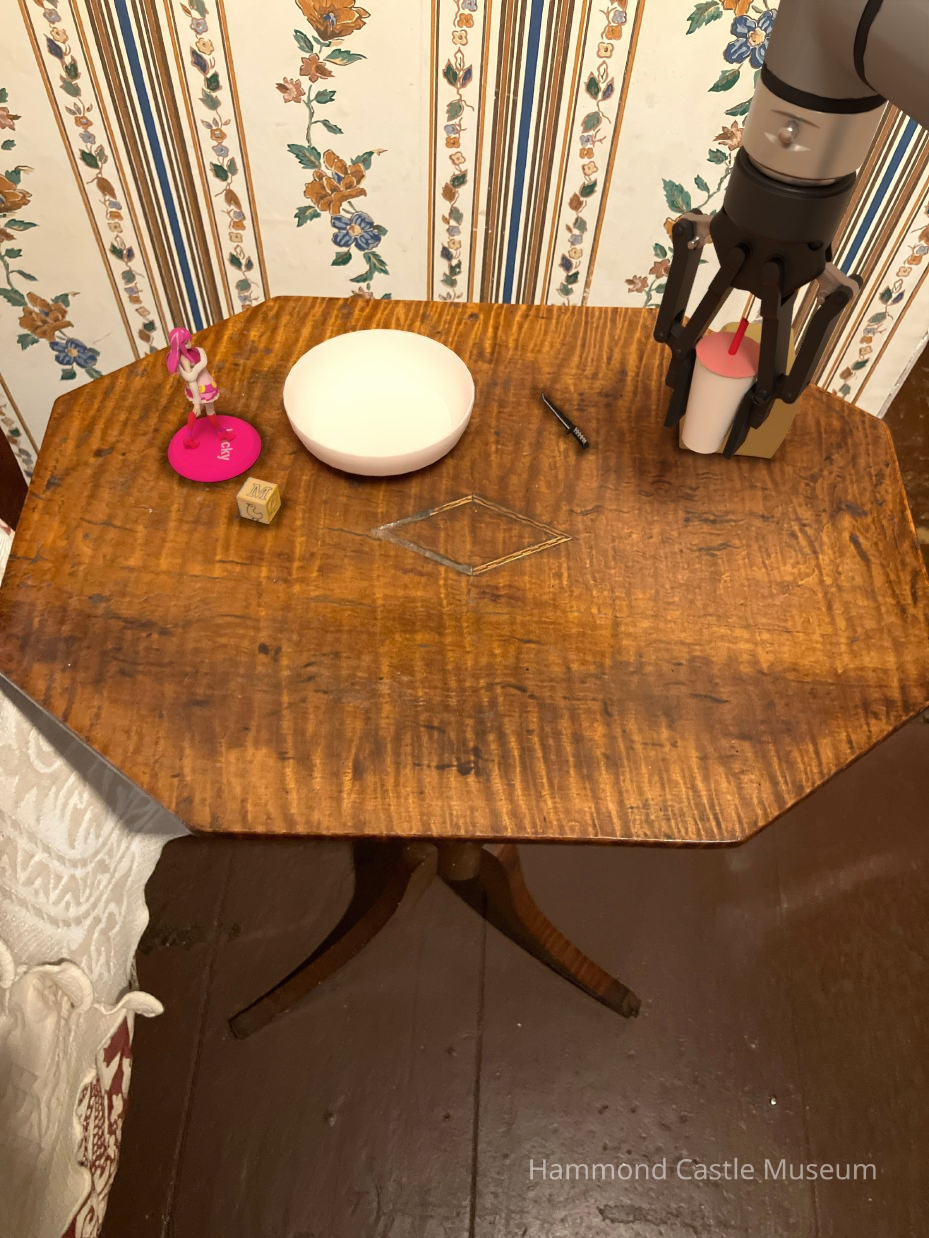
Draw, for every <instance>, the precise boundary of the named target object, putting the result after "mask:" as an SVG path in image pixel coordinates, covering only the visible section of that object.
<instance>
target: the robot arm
mask: <svg viewBox="0 0 929 1238" xmlns="http://www.w3.org/2000/svg"><path fill="white" fill-rule="evenodd" d="M761 65H762V66H761V68H760V71H759V74H758V77H757V81H756V85H755V88H754V91H753V95H752V99H751V102H750V106H749V110H748V113H747V116H746V120H745V124H744V127H743V130H742V134H741V143H742V145H741V146H740V147H739V148H738V150H737V151H736V154H735V157H734V161H733V164H732V167H731V171H730V175H729V179H728V182H727V186H726V189H725V192H724V196H723V201H722V205H721V206H720V209H719V210H718V211H717V212H716V213H715V214H704V212H703V211H702V209H700V208H698V207H693V208H691V209H689V210H688V211H687V212H686V213H685V214H684V215H683V216H681V217H680V218H679V219H678V220H677V221H676V222H674V223H673V225H672V226H671V239H672V251H673V254H672V258H671V262H670V265H669V270H668V274H667V278H666V281H665V286H664V290H663V294H662V297H661V300H660V305H659V309H658V313H657V316H656V321H655V325H654V329H653V332H652V337H653V339H654V341H655V342H657V343H659V344H665V345H666V346H667V347H668V348H669V349H670V353H671V357H670V360H669V365H668V368H667V372H666V375H665V386H667V387H668V388H671V389H673V390H672V394H671V396H670V401H669V404H668V408H667V412H666V415H665V418H664V422H663V427H666V428H668V429H669V430H672V429H673V428H674V427H675V426H676V425H677V423H679V422H680V419H681V418H682V417H683V416H684V415H685V414H686V410H687V404H688V399H689V393H690V388H691V382H692V377H693V372H694V366H695V361H696V356H697V353H696V349H695V347H696V345H697V343H698V342H699V341H700V340H701V339H702V338H703V335H705V334H706V333H707V330H708V329H709V328H710V326H711V325H712V323H713V321H714V320H715V318H716V317H717V315H718V313H719V312H720V310H721V309H722V308H723V306H724V305H725V303H726V301H727V300H728V298H729V297H730V296H731V294H732V292H733V291H734V290H735V289H736V290H738V291H744V292H748V293H750V294H751V295H752V296H754V297H755V298H756V299H758V300H760V309H759V310H760V311H759V317H761V318H762V319H761V323H762V330H761V341H760V353H759V364H758V376H757V381H756V382H755V383H754V385H753V386H752V387H750V389H749V390H748V391H747V392H746V393H745V394H744V397H743V400H742V402H741V405H740V408H739V410H738V413H737V416H736V418H735V421H734V424H733V426H732V429H731V432H730V434H729V437H728V440H727V442H726V445H725V448H724V450H723V453H721V456H722V457H724V458H726V459H728V460H731V459H732V457H733V456H734V455H736V454H735V453H736V451H737V450H738V449H739V448H740V447H741V446H742V444H743V443H744V442H745V440H746V437H747V435H748V432H749V430H750V427H752V428H754V429H756V430H757V429H758V428H759V427H760V426H761V425H762V424H763V423H764V421H765V420H766V419H767V418H768V417H769V414H770V412H771V410H772V407H773V405H774V402H775V400H776V399H781V400H782V401H783V402H784V403H786V404H793V403H794V402H795V401H796V400H797V399H798V398H799V396H800V397H801V396H802V394H803V393H804V392H805V390H806V389H807V388H808V387H809V385H810V384H811V382H812V379H813V377H814V375H815V373H816V371H817V368H818V367H819V364H820V362H821V359H822V357H823V355H824V352H825V351H826V348H827V345H828V343H829V341H830V339H831V337H832V334H833V332H834V329H835V328H836V325H837V323H838V321H839V318H840V316H841V314H842V312H843V310H844V308H846V307H847V305H848V304H849V303H850V302H851V301H852V300H853V298H854V297H855V296H856V295H857V294H858V293H859V292H860V290H861V289H862V288H863V286H864V283H865V282H864V279H863V277H862V276H861V275H860V274H858V273H851V274H849V275H846V273H844V272H843V271H842V270H841V269H840V268H839V267H837V266H836V265H835V263H833V257H834V256H833V255H834V253H833V239H834V236H835V233H836V232H837V228H838V226H839V223H840V221H841V218H842V215H843V214H844V212H845V208H846V207H847V203H848V201H849V200H850V199H849V198H850V196H851V193H852V191H853V189H854V186H855V184H856V182H857V176H858V175H857V174H858V173H857V170H859V169H860V168H861V167H862V165H863V164H864V162H865V160H866V158H867V155H868V153H869V150H870V147H871V145H872V142H873V140H874V137H875V135H876V132H877V129H878V128H879V125H880V122H881V119H882V117H883V114H884V112H885V110H886V107H887V104H888V102H890V104H892V105H893V106H895V107H896V108H897V109H898V110H900V111H901V112H902V113H904V115H906V116H907V117H908V118H910V119H911V120H913V121H914V122H915V123H916V124H918V125H919V126H920V127H921V128H923V129H924V130H926V131H927V132H928V133H929V0H779V3H778V7H777V9H776V14H775V17H774V21H773V25H772V28H771V32H770V35H769V39H768V43H767V46H766V50H765V54H764V57H763V61H762V64H761ZM710 238H711V241H712V245H713V248H714V251H715V254H716V258H717V260H718V263H719V269H718V270H717V272H716V274H715V275H714V277H713V278H712V280H711V281H710V283H709V285H708V287H707V291H705V294H704V295H703V296H702V298H701V300H700V301H699V303H698V305H697V306H696V308H695V309H694V311H693V313H692V314H691V316H690V318H689V320H688V321H687V323H686V325H685V326H684V325H683V322H684V318H685V315H686V312H687V308H688V305H689V300H690V298H691V295H692V290H693V287H694V283H695V280H696V277H697V273H698V269H699V266H700V263H701V258H702V255H703V251H704V247H705V245H706V244H707V243H708V241H709V240H710ZM815 280H816V281H817V282H818V284H819V285H818V286H819V288H818V290H817V292H816V303H817V305H818V306H819V307H818V308H817V309H816V311H815V312H814V314H813V316H812V317H811V319H810V322H809V324H808V327H807V330H806V332H805V333H804V336H803V339H802V341H801V344H800V346H799V349H798V350H797V354H796V358H795V361H794V363H793V365H792V368H791V370H790V373H789V375H786V369H787V360H788V351H789V343H790V334H791V328H792V325H793V315H794V306H795V303H796V300H797V298H798V294H799V289H802V288H803V287H804V286H806V285H808V284H810V283H811V282H813V281H815ZM799 399H800V398H799Z"/></svg>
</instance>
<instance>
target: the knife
mask: <svg viewBox="0 0 929 1238" xmlns="http://www.w3.org/2000/svg"><path fill="white" fill-rule="evenodd" d="M541 398H542V400H543V402H544V403H545V404H546V405H547V407H549V409H550V410H551V411H552V412H553V414H554V415H555V416H556V417H557V418H558V419H559V421H560V422H561V423H562V425H564V426H565V428H566V429H567V430H566V432H565V434H566V435H569V434H572V435H573V436H574V437H575V438H576V440H577V441H578V442H579V443H580V444H581V445H582V448H583V449H582V450H584V449H586V448H587V447H589V446H590V443H589V441H588V440H587V438H586V437H585V435H584V434H583V433H582V432H581V431H580V430H579V429H578V427H577V426H576V425H575V424H574V423H573V422H572V420H570V419H569V418H568V417H567V416H566V415H565V414H564V412H562V411H561V410H560V409H559V408H558V407H557V406H556V405H555V404H554V403H553V402H552V401H551V400H550V399H549V398H548V397H547V396H546V395H545V394H544V393H543V392H541Z"/></svg>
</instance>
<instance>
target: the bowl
mask: <svg viewBox="0 0 929 1238" xmlns="http://www.w3.org/2000/svg"><path fill="white" fill-rule="evenodd" d="M475 390H476V389H475V383H474V380H473V376H472V373H471V372H470V370H469V369H468V366H467V365H466V364H465V362H464V361H463V360H462V359H461V358H460V357H459V356H458V355H457V354H456V353H455V352H454V350H451V349H450V348H449V347H447V346H446V345H444V344H443V343H441V342H439V341H437V340H435V339H432V338H431V337H428V336H426V335H422V334H419V333H415V332H412V331H407V330H406V331H405V330H399V329H386V328H375V329H365V330H364V329H363V330H361V329H360V330H357V331H352V332H347V333H343V334H340V335H337V336H334V337H331V338H329V339H326V340H324V341H323V342H321V343H319V344H317V345H315V346H313V347H311V349H310V350H308V351H307V352H306V353H304V354H303V355H301V357H300V358H299V359H298V360H297V362H296V363H295V364H294V365H293V366H292V367H291V369H290V371H289V373H288V375H287V376H286V379H285V381H284V386H283V390H282V391H283V392H282V396H283V397H282V398H283V407H284V409H285V413H286V415H287V418H288V421H289V424H290V426H291V428H292V431H293V432H294V433H295V435H296V436H297V437H298V439H299V440H300V441H301V443H302V444H303V446H304V447H305V448H306V449H307V451H309V452H310V453H311V454H312V455H313V456H315V458H317V459H318V460H319V461H321V462H323V463H325V464H327V465H329V466H330V467H332V468H335V469H338V470H341V471H343V472H346V473H351V474H356V475H361V476H370V477H371V476H375V477H385V476H394V475H395V476H396V475H402V474H406V473H410V472H415V471H417V470H421V469H423V468H424V467H427V466H429V465H432V464H434V463H435V462H437V461H438V460H440V459H442V458H443V457H444V456H446V455H447V454H448V453H449V452H450V451H451V450H452V449H453V448H454V447H455V446H456V445H457V444H458V442H459V440H460V439H461V438H462V436H463V434H464V432H465V431H466V429H467V427H468V425H469V423H470V419H471V416H472V413H473V408H474V404H475V395H476V393H475Z"/></svg>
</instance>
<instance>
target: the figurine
mask: <svg viewBox="0 0 929 1238" xmlns="http://www.w3.org/2000/svg"><path fill="white" fill-rule="evenodd" d="M168 341H169V343H170V350H169V352H167V353H166V356H165V362H166V367H167V371H168V372H169V374H170V375H174V374H176V375H177V376H180V377H181V378H182V379H184V386H185V388H183V390H184V395H186V399H187V400H188V401H189V402H192V404H193V408H192V410H191V411H190V412H189V415H188V416H187V424H186V425H184V426H182V427H181V428H180V429H179V430H178V431H177V432H176V433H174V436H173V437H172V439H171V440H170V442H169V445H168V448H167V458H168V462H169V464H170V466H171V468H172V469H173V470H174V471H175V472H176V473H177V474H179V475H180V476H181V477H183V478H186V479H189V480H192V481H195V482H202V483H203V482H204V483H214V482H222V481H226V480H229V479H233V478H235V477H236V476H239V475H241V474H243V473H244V472H246V471H247V470H249V468H251V467H252V466H253V465H254V463H256V461H257V460H258V458H259V456H260V454H261V451H262V440H261V435H260V434H259V432H258V431H257V430H256V429H255V428H254V427H253V425H251V424H250V423H248V422H247V421H245V420H243V419H242V418H239V417H235V416H231V415H223V414H222V415H221V414H219V415H217V414H216V411H215V405H214V402H215V401H216V400H218V399H219V397H220V393H221V392H220V390H219V389H220V388H219V387H218V383H217V381H216V380H215V378H213V377H212V375H211V374H210V372H209V371H208V369H207V366H208V355H207V354H206V352H205V350H204V348H203V347H199V346H197V347H192V341H193V337H192V334H191V333H190V330H189V329H187V328H186V327H183V326H182V327H175V328H173V329H171V330H170V331H169V334H168ZM204 406H205V413H206V416H204V417H200V418H198V417H199V416H200V415H201V412H202V410H203V409H204Z"/></svg>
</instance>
